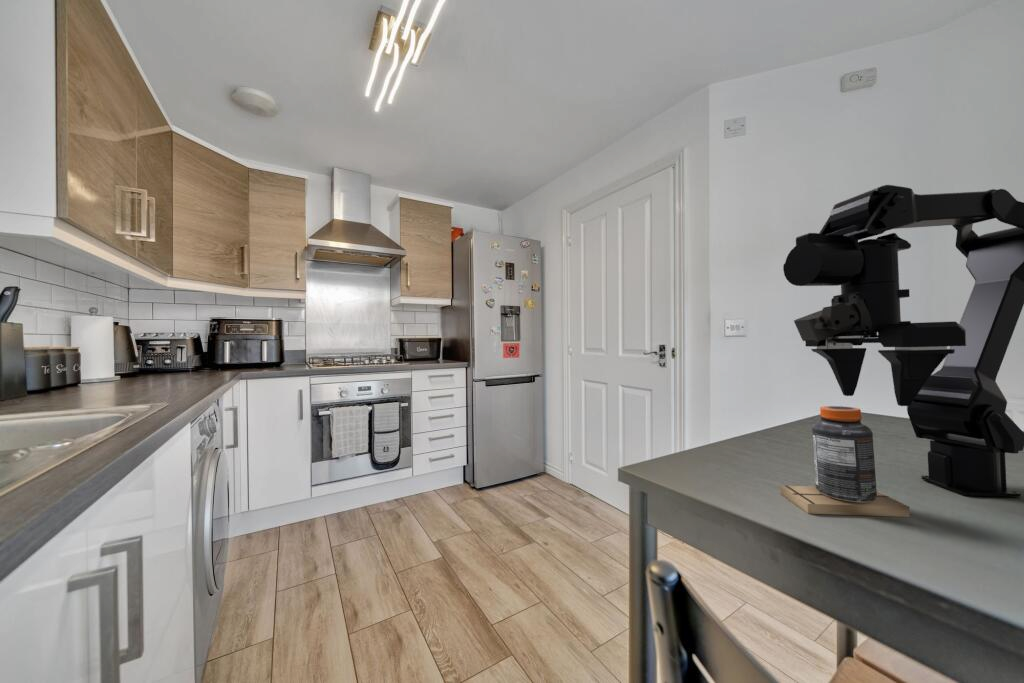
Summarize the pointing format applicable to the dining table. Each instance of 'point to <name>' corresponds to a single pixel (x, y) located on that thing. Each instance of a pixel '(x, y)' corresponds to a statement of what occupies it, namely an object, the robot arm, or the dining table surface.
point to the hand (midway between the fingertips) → (873, 400)
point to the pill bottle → (844, 455)
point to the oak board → (842, 503)
